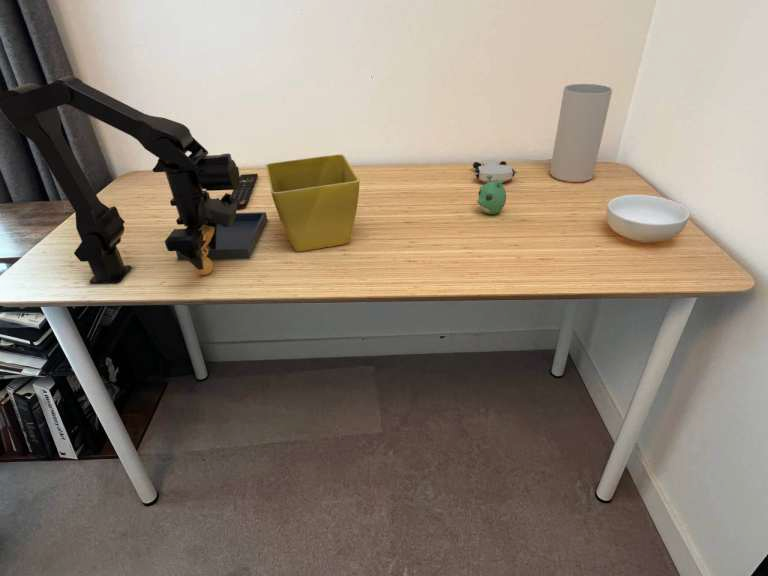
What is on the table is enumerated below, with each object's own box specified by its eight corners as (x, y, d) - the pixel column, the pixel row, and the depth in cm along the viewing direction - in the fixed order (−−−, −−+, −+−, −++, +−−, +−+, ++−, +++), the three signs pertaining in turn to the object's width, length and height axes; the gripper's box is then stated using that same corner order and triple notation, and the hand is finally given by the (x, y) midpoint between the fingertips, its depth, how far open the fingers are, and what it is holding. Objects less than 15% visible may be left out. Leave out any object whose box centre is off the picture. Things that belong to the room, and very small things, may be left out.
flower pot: (283, 262, 108) (271, 192, 99) (276, 226, 123) (265, 162, 114) (364, 248, 112) (360, 180, 103) (348, 215, 127) (343, 153, 118)
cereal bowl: (640, 214, 122) (647, 188, 118) (696, 243, 109) (707, 215, 105) (586, 227, 117) (592, 200, 113) (638, 259, 104) (647, 230, 100)
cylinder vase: (541, 171, 149) (554, 86, 135) (575, 166, 152) (592, 82, 138) (565, 185, 139) (582, 95, 125) (601, 179, 142) (622, 90, 128)
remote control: (258, 177, 152) (257, 173, 152) (246, 209, 133) (245, 204, 132) (241, 178, 152) (240, 174, 151) (226, 210, 132) (225, 206, 132)
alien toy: (469, 211, 127) (472, 175, 121) (493, 205, 130) (496, 169, 124) (486, 221, 122) (489, 184, 116) (510, 215, 124) (514, 178, 119)
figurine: (203, 264, 109) (191, 215, 102) (229, 264, 108) (219, 215, 102) (189, 283, 102) (175, 232, 95) (216, 283, 101) (205, 232, 95)
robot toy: (468, 172, 153) (475, 186, 140) (469, 158, 151) (476, 171, 138) (506, 171, 152) (517, 185, 139) (508, 156, 150) (519, 170, 137)
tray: (249, 258, 110) (247, 249, 109) (178, 260, 110) (175, 250, 109) (267, 220, 126) (266, 212, 125) (205, 222, 127) (203, 213, 125)
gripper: (212, 209, 86) (232, 281, 95) (239, 172, 102) (254, 237, 110) (152, 211, 87) (177, 283, 95) (188, 174, 102) (207, 238, 111)
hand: (207, 258), depth 103 cm, fingers closed on figurine, 8 cm apart
